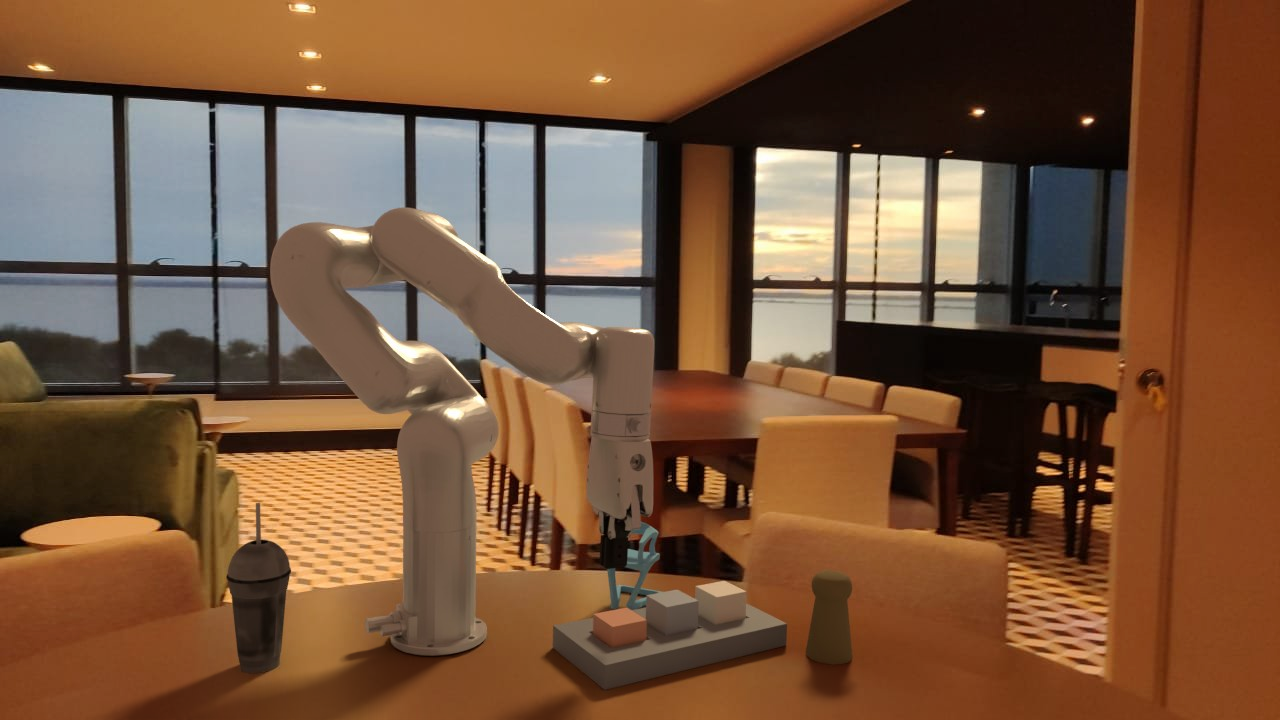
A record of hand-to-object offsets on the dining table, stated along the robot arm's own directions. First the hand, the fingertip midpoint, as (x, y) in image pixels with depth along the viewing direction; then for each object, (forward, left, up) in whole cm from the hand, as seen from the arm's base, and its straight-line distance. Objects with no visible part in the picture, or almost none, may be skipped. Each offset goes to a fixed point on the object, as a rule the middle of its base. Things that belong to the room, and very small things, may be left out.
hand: (613, 565), depth 112 cm
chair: (+12, +16, -12) cm, 23 cm away
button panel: (+8, -1, -12) cm, 15 cm away
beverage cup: (-40, +18, -12) cm, 45 cm away
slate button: (+8, -1, -9) cm, 13 cm away
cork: (+25, -13, -12) cm, 31 cm away
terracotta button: (0, -1, -10) cm, 10 cm away
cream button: (+16, -1, -9) cm, 19 cm away
